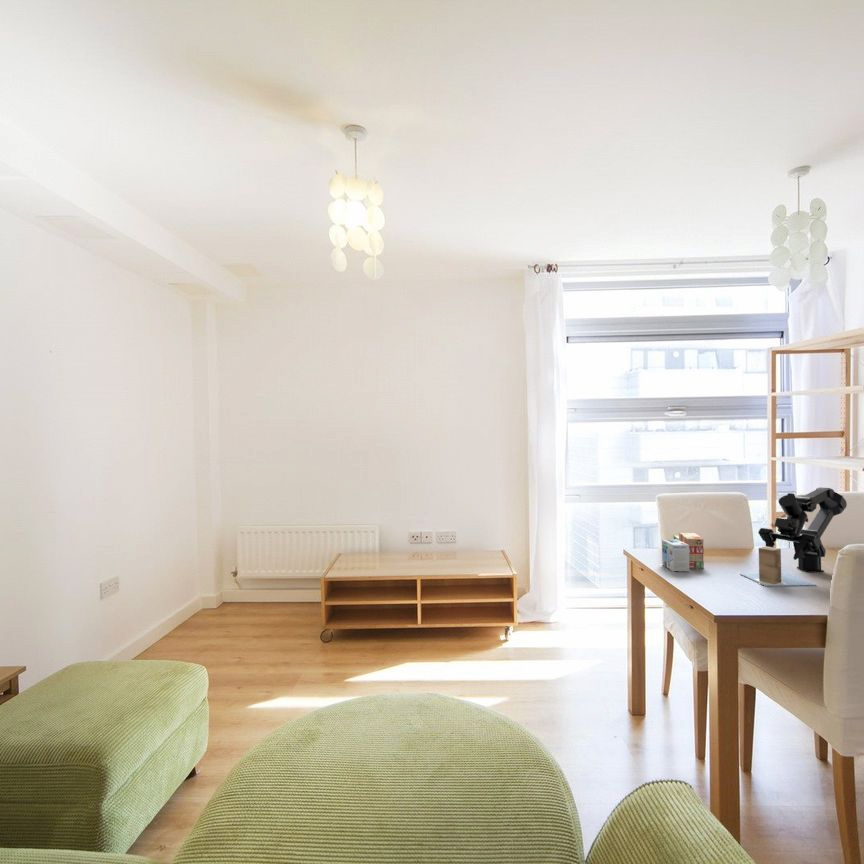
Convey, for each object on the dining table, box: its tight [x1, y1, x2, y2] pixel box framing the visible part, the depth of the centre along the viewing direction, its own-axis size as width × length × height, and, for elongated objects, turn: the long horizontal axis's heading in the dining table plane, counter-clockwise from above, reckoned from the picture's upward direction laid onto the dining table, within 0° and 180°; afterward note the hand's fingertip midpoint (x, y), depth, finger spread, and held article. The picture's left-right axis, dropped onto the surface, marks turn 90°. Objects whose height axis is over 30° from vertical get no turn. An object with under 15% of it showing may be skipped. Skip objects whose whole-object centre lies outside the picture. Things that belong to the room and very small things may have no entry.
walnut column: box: [758, 545, 782, 584], centre depth 183 cm, size 5×5×12 cm
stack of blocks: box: [673, 532, 705, 569], centre depth 215 cm, size 21×6×12 cm, turn 168°
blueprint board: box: [739, 572, 817, 587], centre depth 187 cm, size 18×15×1 cm
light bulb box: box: [661, 538, 690, 573], centre depth 205 cm, size 11×7×11 cm, turn 178°
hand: (780, 556), depth 187 cm, fingers open, 9 cm apart
